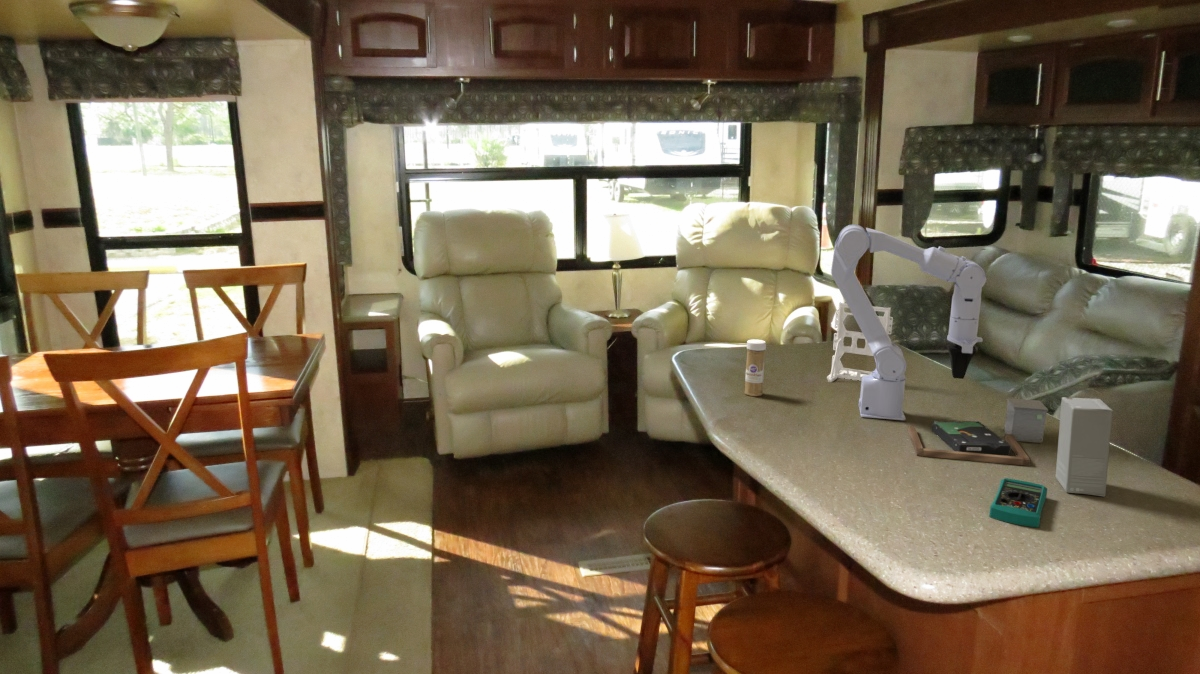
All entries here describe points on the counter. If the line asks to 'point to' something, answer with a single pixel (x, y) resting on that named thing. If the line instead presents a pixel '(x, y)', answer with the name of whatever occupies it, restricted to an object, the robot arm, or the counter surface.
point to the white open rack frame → (853, 349)
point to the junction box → (1025, 420)
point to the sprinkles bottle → (755, 367)
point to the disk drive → (971, 437)
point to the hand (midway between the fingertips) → (957, 377)
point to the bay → (1019, 452)
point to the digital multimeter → (1019, 502)
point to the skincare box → (1083, 445)
